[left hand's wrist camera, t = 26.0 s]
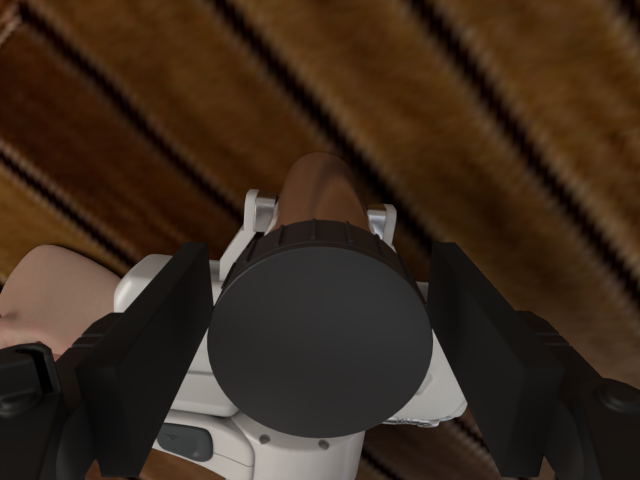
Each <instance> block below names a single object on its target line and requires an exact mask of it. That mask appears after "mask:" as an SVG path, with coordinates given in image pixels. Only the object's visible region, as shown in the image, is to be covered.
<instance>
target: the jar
mask: <svg viewBox="0 0 640 480" xmlns="http://www.w3.org/2000/svg"><path fill="white" fill-rule="evenodd" d="M312 218H316V220H332V221H339V222H344V223H345V221H349V222H350V224H352V225H354V226H357V227H360V228H363V229H365V230H367V231H368V232H370V233H372V234H374V235H375V234H376V233H375V230H374V228H373V225H372V223H371V220H370V217H369V215H368V212H367V210H366V207H365V204H364V202H363V199H362V197H361V194H360V191H359V189H358V186H357V184H356V181H355V178H354V176H353V173H352V171H351V169H350V168H349V166H348V165H347V164H346V163H345V162H344V161H343V160H342V159H340V158H339V157H337V156H335V155H332V154H330V153H324V152H316V153H311V154H308V155H305V156H303V157H301V158H300V159H298V160H297V161H296V162H295V163H294V164H293V165H292V167H291V168H290V170H289V172H288V174H287V176H286V179H285V181H284V184H283V187H282V189H281V192H280V194H279V197H278V200H277V202H276V205H275V207H274V210H273V213H272V215H271V218H270V220H269V223H268V226H267V228H266V231H265V233H264V236H265V235H266V234H268V233H269V232H271V231H273V230H276V229H278V228H279V226H280V225H282V224H283V225H284V226H285V225H289V224H292V223H295V222H301V221H307V220H312Z"/></svg>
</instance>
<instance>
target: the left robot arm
mask: <svg viewBox="0 0 640 480" xmlns="http://www.w3.org/2000/svg"><path fill="white" fill-rule="evenodd" d="M426 303H427V305H428V307H427V308H426V310H427V312H428V315H429V318H430V322H431V326H432V329H433V331H434V333H435V336H436V338H437V340H438V342H439V344H440V346H441V348H442V350H443V353H444V355H445V357H446V359H447V361H448V363H449V365H450V368H451V370H452V372H453V374H454V376H455V378H456V380H457V382H458V385H459V387H460V389H461V391H462V393H463V395H464V397H465V400H466V402H467V404H468V406H469V408H470V410H471V412H472V415H473V417H474V419H475V421H476V423H477V425H478V427H479V429H480V432H481V434H482V436H483V438H484V440H485V442H486V444H487V447H488V449H489V451H490V453H491V455H492V457H493V459H494V461H495V464H496V466H497V468H498V470H499V472H500V474H501V476H502V477H538V476H539V472H540V468H541V464H542V460H543V456H545V457H546V459H547V461H548V462H549V464H550V466H551V467H552V469H553V471H554V472H555V476H554V479H553V480H640V390H639V389H637V388H635V387H632V386H630V385H628V384H626V383H623V382H620V381H616V380H613V379H608V378H602V377H601V376H600V375H599V374H598V373H597V372H596V371H595V370H594V369H593V368H592V366H591V365H590V364H589V363H588V362H587V361H586V360H585V359H584V358H583V357H582V356H581V355H580V354H579V353H578V352H577V351H576V350H575V349H574V348H573V347H572V346H569V343H568V342H567V341H566V340H565V339H564V338H563V337H562V336H559V333H558V332H557V331H556V330H555V329H554V328H553V327H552V326H551V325H550V324H549V323H548V322H547V321H546V320H544V319H542V318H541V317H539V316H537V315H536V314H534V313H532V312H530V311H515V310H514V309H513V308H512V307H511V305H510V304H509V303H508V302H507V301H506V300H505V299H504V297H503V296H502V295H501V294H500V293H499V292H498V291H497V289H496V288H495V287H494V286H493V285H492V284H491V283H490V282H489V280H488V279H487V278H486V277H485V276H484V275H483V274H482V272H481V271H480V270H479V269H478V268H477V267H476V266H475V264H474V263H473V262H472V261H471V260H470V259H469V258H468V257H467V255H466V254H465V253H464V252H463V251H462V250H461V249H460V247H459V246H458V245H457V244H456V243H432V253H431V263H430V273H429V282H428V292H427V302H426ZM213 307H214V302H213V292H212V282H211V273H210V263H209V253H208V243H184V244H183V245H182V246H181V247H180V249H179V250H178V251H177V252H176V253H175V254H174V255H173V257H172V258H171V259H170V260H169V261H168V262H167V263H166V264H165V266H164V267H163V268H162V269H161V270H160V271H159V272H158V274H157V275H156V276H155V277H154V278H153V279H152V280H151V282H150V283H149V284H148V285H147V286H146V287H145V288H144V289H143V291H142V292H141V293H140V294H139V295H138V296H137V297H136V299H135V300H134V301H133V302H132V303H131V304H130V305H129V307H128V308H127V309H126V310H125V311H124V312H111V313H109V314H107V315H105V316H104V317H102V318H100V319H98V320H97V321H95V322H93V323H92V324H91V325H90V326H89V327H88V328H87V329H86V330H85V331H84V332H83V334H82V335H81V337H79V338H78V339H77V340H76V341H75V342H74V343H73V344H72V346H71V347H69V348H68V349H67V350H66V351H65V352H64V353H63V354H62V355H61V356H60V357H59V358H58V359H57V360H56V361H54V357H53V353H52V349H51V348H50V347H48V346H47V345H45V344H40V343H25V344H17V345H14V346H10V347H6V348H2V349H0V480H87V479H86V476H85V474H86V473H87V471H88V470H89V468H90V466H91V465H92V463H93V461H94V460H95V458H96V456H97V460H98V464H99V468H100V472H101V476H102V477H138V476H139V474H140V472H141V470H142V468H143V466H144V464H145V461H146V459H147V457H148V455H149V453H150V451H151V449H152V447H153V444H154V442H155V440H156V438H157V436H158V434H159V432H160V429H161V427H162V425H163V423H164V421H165V419H166V417H167V415H168V412H169V410H170V408H171V406H172V404H173V402H174V400H175V397H176V395H177V393H178V391H179V389H180V387H181V385H182V382H183V380H184V378H185V376H186V374H187V372H188V370H189V368H190V365H191V363H192V361H193V359H194V357H195V355H196V353H197V350H198V348H199V346H200V344H201V342H202V340H203V338H204V336H205V333H206V331H207V329H208V326H209V322H210V318H209V317H210V313H211V311H212V309H213Z"/></svg>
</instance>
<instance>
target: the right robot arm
mask: <svg viewBox="0 0 640 480" xmlns="http://www.w3.org/2000/svg"><path fill="white" fill-rule="evenodd" d="M277 200H278V192H271V191H263V190H255V189H250V190H249V192H248V193H247V196H246V201H245V214H244V225H243V226H242V227H241V229H240V230H239V232H238V233H237V234H236V236H235V237H234V239H233V240H232V242H231V243H230V244H229V246H228V248H227V249H226V251H225V253H224V254H223V256H222V258H221V259H220V261H216V260H209V263H210V273H211V282H212V292H213V302H214V305H215V303H216V301H217V299H218V297H219V295H220V293H221V291H222V289H221V286H222V284H223V282H224V280H225V278H226V276H227V274H228V272H229V270H230V268H231V266H232V264H233V262H236V263H237V262H238V260H239V259H240V257H241V256H242V255H243V254H244V252H245V251H246V250H247V249H248V248H245V247H246V246H247V245H248V243H249V242H250V240H251V239H252V238H253V236H254V235H255V233H256V232H265V231H266V228H267V226H268V223H269V220H270V218H271V215H272V213H273V210H274V207H275V205H276V202H277ZM365 207H366V210H367V212H368V215H369V217H370V220H371V223H372V225H373V228H374V230H375V233H377V234H378V235H379V236H380V238H381V240H383V241H384V242H385V243H386V244H388V245H389V246H390V247H391V248H392V249H393V250H394V251H395V249H394V246H393V244H392V239H393V234H394V228H395V223H396V209H395V208H394V206H393V205H389V204H380V203H370V202H365ZM395 252H396V251H395ZM172 257H173V256H169V255H160V254H151V255H149V256H147V257H145V258H144V259H143V260H142V261H140V262H139V263H138V264H137V265H135V266H134V267H133V268H132V269H131V270H130V271H129V272H128V273H127V274H126V275H125V276H124V277H123V279H122V280H121V281H120V283H119V284H118V286H117V288H116V290H115V293H114V312H124V311H125V310H126V309H127V308H128V307H129V305H130V304H131V303H132V302H133V301H134V300H135V299H136V297H137V296H138V295H139V294H140V293H141V292H142V291H143V289H144V288H145V287H146V286H147V285H148V284H149V283H150V282H151V280H152V279H153V278H154V277H155V276H156V275H157V274H158V272H159V271H160V270H161V269H162V268H163V267H164V266H165V264H166V263H167V262H168V261H169V260H170V259H171V258H172ZM416 283H417V285H418V287H419V289H420V291H421V293H422V295H423V297H424V299H425V301H426V302H427V292H428V283H427V282H417V281H416ZM432 332H433V353H432V358H431V363H430V367H429V369H428V372H427V375H426V377H425V379H424V381H423V383H422V385H421V386H420V388H419V390H418V391H417V392H416V394H415V395H414V396H413V398H412V399H411V400H410V401H409V402H408V403H407V404H406V405H405V406H404V407H403V408H402V409H401V410H400V411H398V412H397V413H396V414H395V415H393V416H392V417H390V418H389V419H387V420H386V421H384V422H383V423H381V424H411V425H416V426H419V427H425V428H430V427H437V426H438V425H439V422H443V421H447V420H450V419H453V418H454V417H459V416H461V415H462V414H463V413H464V411H465V409H466V407H467V402H466V400H465V397H464V395H463V393H462V391H461V389H460V387H459V385H458V382H457V380H456V378H455V376H454V374H453V372H452V370H451V368H450V365H449V363H448V361H447V359H446V357H445V355H444V353H443V350H442V348H441V346H440V344H439V342H438V340H437V338H436V336H435V333H434V331H433V329H432ZM207 333H208V329H207V331H206V333H205V336H204V338H203V340H202V342H201V344H200V346H199V348H198V350H197V353H196V355H195V357H194V359H193V361H192V363H191V365H190V368H189V370H188V372H187V374H186V376H185V378H184V380H183V382H182V385H181V387H180V389H179V391H178V393H177V395H176V397H175V400H174V402H173V404H172V406H171V408H170V410H169V412H168V415H167V417H166V419H165V421H164V423H163V425H162V427H161V429H160V432H159V434H158V436H157V438H156V440H155V442H154V444H153V447H152V448H155V449H158V450H161V451H164V452H167V453H170V454H173V455H175V456H178V457H181V458H184V459H186V460H189V461H192V462H194V463H196V464H199V465H201V466H203V467H206V468H208V469H210V470H212V471H214V472H216V473H217V474H219V475H221V476H223V477H225V478H226V480H355V478H356V475H357V471H358V466H359V461H360V456H361V451H362V445H363V440H364V435H365V431H362V432H359V433H356V434H352V435H348V436H343V437H335V438H304V437H298V436H292V435H288V434H285V433H281V432H278V431H275V430H273V429H270V428H268V427H265V426H263V425H262V424H260V423H258V422H256V421H254V420H253V419H251V418H250V417H248V416H247V415H245V414H244V413H243V412H242V411H240V410H239V409H238V408H237V407H236V406H235V405H234V404H233V403H232V402H231V401H230V400H229V399H228V398H227V396H226V395H225V394H224V392H223V391H222V389H221V388H220V386H219V385H218V383H217V381H216V379H215V377H214V375H213V372H212V369H211V366H210V363H209V358H208V352H207Z"/></svg>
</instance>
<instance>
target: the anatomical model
mask: <svg viewBox="0 0 640 480" xmlns="http://www.w3.org/2000/svg"><path fill="white" fill-rule="evenodd" d="M121 280H122V279H121V278H119V277H118V276H117V275H115V274H114V273H112V272H111V271H109V270H108V269H106V268H105V267H103V266H101V265H99V264H97V263H96V262H94V261H92V260H90V259H88V258H86V257H84V256H82V255H80V254H78V253H75V252H73V251H71V250H68V249H66V248H63V247H59V246H55V245H41V246H38V247H36V248H34V249H33V250H31V251H30V252H29V253H28V254H27V255H26V256H25V257H24V258H23V259H22V260H21V262H20V263H19V264H18V266H17V267H16V268H15V269H14V271H13V272H12V273H11V275H10V276H9V278H8V280H7V282H6V284H5V286H4V288H3V290H2V292H1V295H0V314H1V316H2V317H1V318H0V349H2V348H6V347H10V346H14V345H17V344H25V343H40V344H45V345H47V346H48V347H50V348H51V349H52V353H53V357H54V361H56V360H57V359H58V358H59V357H60V356H61V355H62V354H63V353H64V352H65V351H66V350H67V349H68V348H69V347H71V346H72V344H73V343H74V342H75V341H76V340H77V339H78V338H79V337H81V335H82V334H83V332H84V331H85V330H86V329H87V328H88V327H89V326H90V325H91V324H92V323H93V322H95V321H97V320H98V319H100V318H102V317H104V316H105V315H107V314H109V313H111V312H114V293H115V290H116V288H117V286H118V284H119V283H120V281H121Z"/></svg>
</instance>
